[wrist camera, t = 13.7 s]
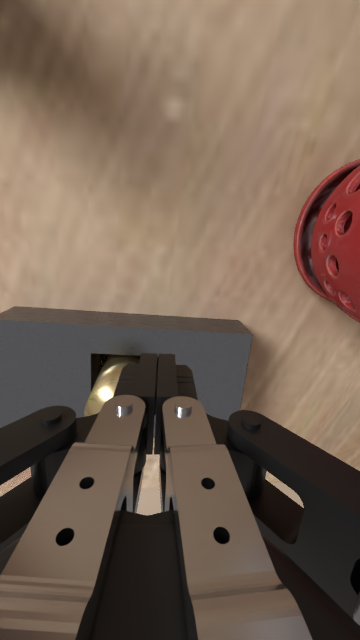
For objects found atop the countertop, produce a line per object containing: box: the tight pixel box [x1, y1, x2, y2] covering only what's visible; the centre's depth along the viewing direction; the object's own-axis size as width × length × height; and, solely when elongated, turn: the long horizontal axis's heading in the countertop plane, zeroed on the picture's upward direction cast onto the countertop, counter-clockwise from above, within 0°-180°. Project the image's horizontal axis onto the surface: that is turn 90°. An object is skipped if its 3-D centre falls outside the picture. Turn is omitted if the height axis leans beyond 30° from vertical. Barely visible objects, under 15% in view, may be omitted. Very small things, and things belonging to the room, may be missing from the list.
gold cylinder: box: [84, 354, 141, 417], centre depth 23 cm, size 4×4×8 cm
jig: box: [0, 306, 253, 437], centre depth 24 cm, size 20×10×4 cm, turn 85°
